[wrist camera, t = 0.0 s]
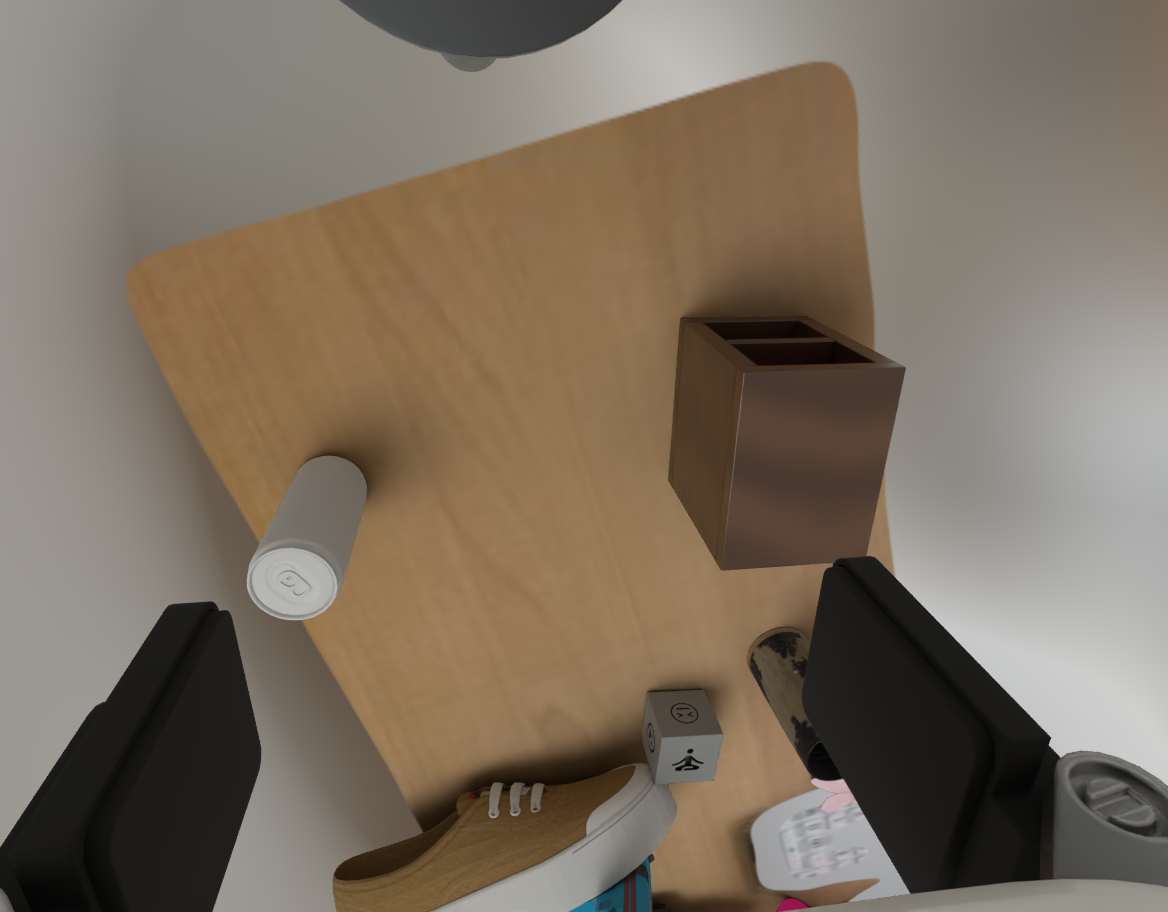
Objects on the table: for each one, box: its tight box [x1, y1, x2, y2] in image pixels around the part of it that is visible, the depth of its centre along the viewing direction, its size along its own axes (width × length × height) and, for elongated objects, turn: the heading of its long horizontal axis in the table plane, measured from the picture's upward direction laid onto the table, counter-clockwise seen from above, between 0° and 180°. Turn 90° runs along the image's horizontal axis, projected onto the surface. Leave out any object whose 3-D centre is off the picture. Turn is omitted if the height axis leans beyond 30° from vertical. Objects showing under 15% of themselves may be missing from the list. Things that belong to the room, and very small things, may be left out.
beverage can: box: [247, 456, 367, 620], centre depth 42 cm, size 5×5×12 cm
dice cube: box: [641, 690, 723, 785], centre depth 59 cm, size 5×5×5 cm
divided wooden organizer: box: [668, 316, 906, 571], centre depth 44 cm, size 12×9×12 cm
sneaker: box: [333, 763, 677, 912], centre depth 58 cm, size 10×29×10 cm
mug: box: [747, 627, 843, 781], centre depth 54 cm, size 8×6×12 cm
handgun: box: [569, 854, 654, 912], centre depth 56 cm, size 23×3×15 cm
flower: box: [811, 778, 858, 814], centre depth 67 cm, size 10×10×2 cm
